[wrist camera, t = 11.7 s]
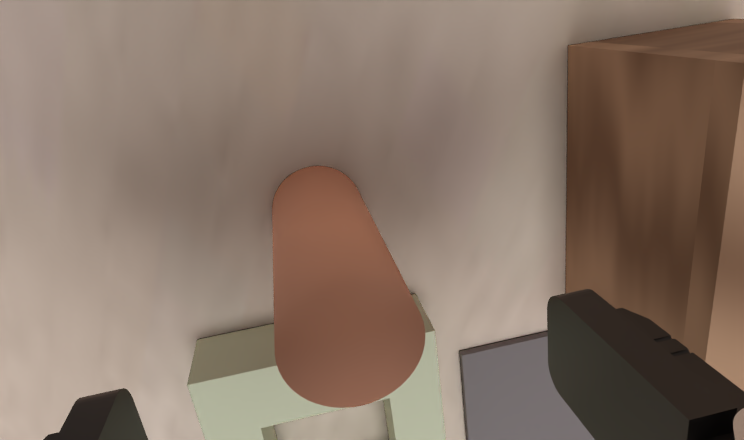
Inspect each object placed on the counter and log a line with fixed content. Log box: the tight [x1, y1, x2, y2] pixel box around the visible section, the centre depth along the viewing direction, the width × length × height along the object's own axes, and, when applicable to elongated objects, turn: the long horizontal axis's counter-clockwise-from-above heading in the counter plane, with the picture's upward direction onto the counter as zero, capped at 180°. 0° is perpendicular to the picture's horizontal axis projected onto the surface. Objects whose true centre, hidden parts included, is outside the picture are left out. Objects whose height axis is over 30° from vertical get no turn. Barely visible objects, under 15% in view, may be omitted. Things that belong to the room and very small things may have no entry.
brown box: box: [566, 19, 744, 391], centre depth 16 cm, size 10×6×7 cm, turn 8°
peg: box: [272, 166, 425, 408], centre depth 14 cm, size 3×3×8 cm
